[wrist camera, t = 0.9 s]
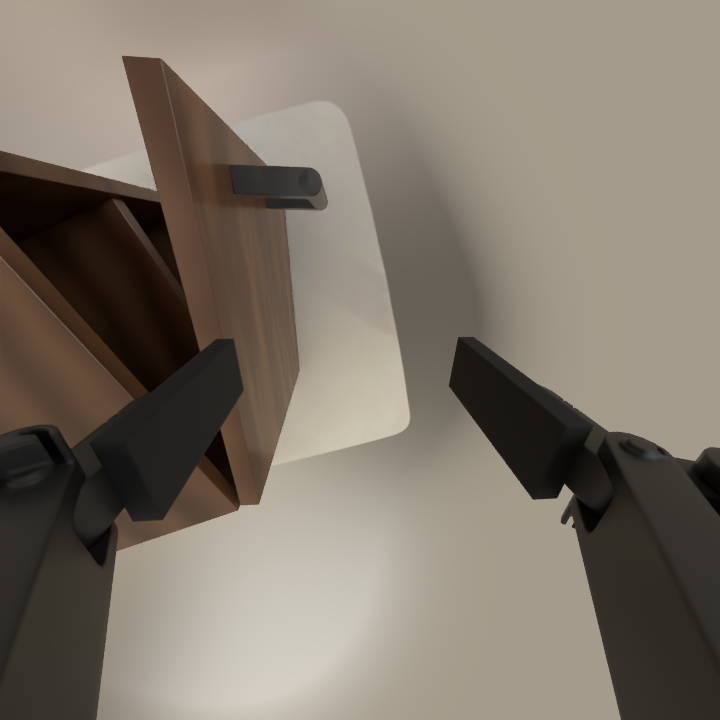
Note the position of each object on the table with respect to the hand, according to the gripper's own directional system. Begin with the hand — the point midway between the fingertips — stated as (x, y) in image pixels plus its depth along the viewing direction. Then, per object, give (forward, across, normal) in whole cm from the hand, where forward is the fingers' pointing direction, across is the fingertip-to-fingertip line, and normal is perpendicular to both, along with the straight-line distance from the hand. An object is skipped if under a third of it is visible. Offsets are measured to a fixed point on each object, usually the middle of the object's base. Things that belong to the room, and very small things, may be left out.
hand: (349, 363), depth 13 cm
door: (+28, -5, -1) cm, 28 cm away
